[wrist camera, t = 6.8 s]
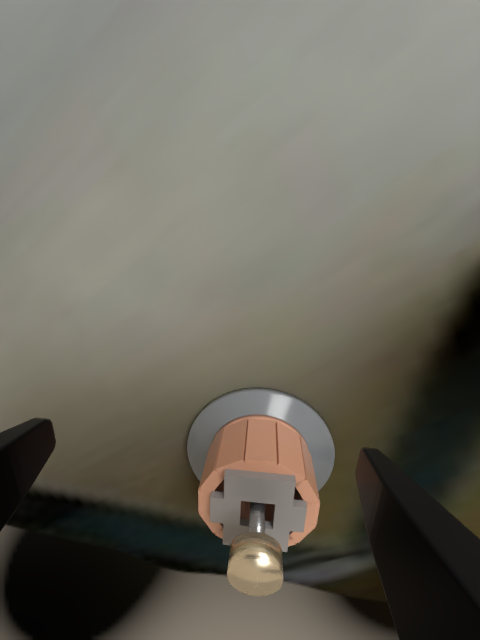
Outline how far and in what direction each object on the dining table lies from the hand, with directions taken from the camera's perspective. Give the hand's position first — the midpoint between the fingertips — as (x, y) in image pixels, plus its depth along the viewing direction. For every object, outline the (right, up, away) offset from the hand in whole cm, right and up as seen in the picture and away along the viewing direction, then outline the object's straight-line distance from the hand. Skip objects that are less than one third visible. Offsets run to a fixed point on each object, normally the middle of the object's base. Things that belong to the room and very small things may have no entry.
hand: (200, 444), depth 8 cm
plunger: (+3, -8, +15) cm, 17 cm away
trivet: (+3, -7, +16) cm, 18 cm away
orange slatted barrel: (+3, -8, +15) cm, 17 cm away
